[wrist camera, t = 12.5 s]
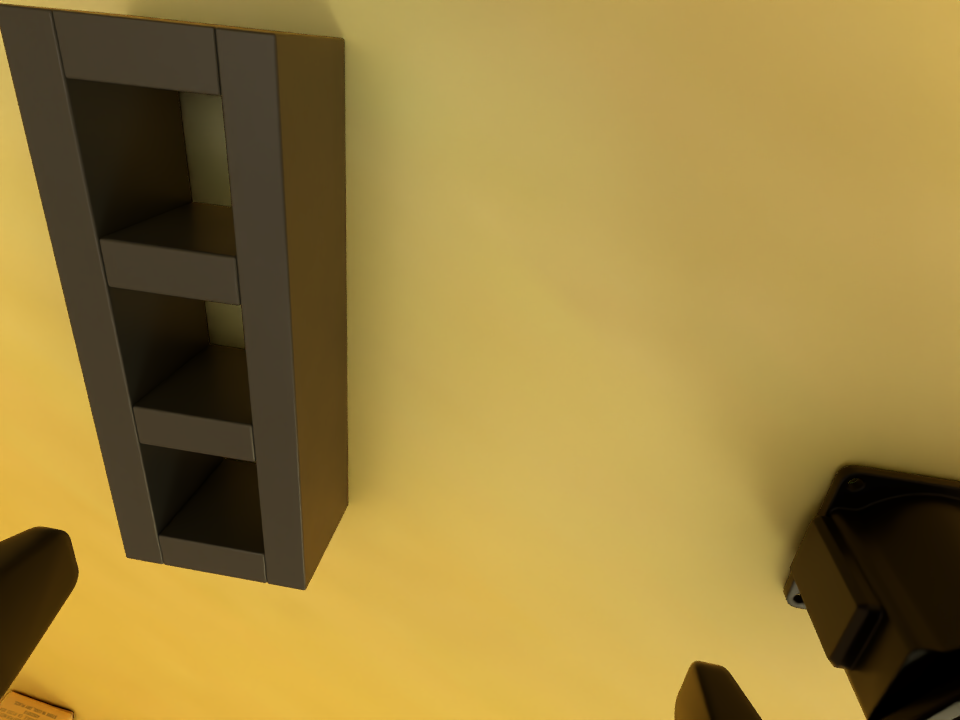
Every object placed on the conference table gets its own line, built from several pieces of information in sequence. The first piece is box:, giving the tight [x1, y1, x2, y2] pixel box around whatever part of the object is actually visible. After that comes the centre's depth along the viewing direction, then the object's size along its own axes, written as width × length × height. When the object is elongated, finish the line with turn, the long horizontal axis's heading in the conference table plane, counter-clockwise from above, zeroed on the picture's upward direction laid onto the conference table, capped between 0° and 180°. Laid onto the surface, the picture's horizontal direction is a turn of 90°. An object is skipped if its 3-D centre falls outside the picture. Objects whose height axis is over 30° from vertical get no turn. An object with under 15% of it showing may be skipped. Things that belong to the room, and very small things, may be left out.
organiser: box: [0, 3, 348, 590], centre depth 19 cm, size 7×17×4 cm, turn 175°
